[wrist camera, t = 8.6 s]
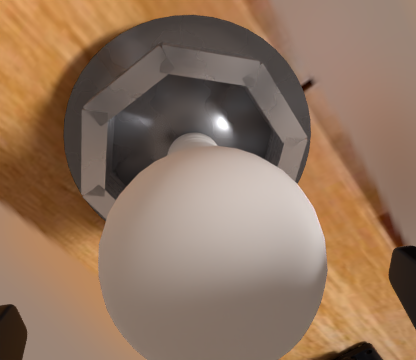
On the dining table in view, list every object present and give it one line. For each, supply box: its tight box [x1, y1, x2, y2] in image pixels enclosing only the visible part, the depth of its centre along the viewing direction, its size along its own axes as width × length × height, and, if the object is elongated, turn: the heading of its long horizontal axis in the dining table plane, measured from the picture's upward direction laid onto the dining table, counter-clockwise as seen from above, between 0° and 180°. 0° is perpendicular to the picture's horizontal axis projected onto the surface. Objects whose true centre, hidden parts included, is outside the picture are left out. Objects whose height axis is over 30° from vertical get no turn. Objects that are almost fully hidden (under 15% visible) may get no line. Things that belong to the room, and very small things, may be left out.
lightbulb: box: [98, 132, 328, 360], centre depth 12 cm, size 6×6×11 cm
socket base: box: [64, 15, 311, 221], centre depth 16 cm, size 12×12×4 cm
